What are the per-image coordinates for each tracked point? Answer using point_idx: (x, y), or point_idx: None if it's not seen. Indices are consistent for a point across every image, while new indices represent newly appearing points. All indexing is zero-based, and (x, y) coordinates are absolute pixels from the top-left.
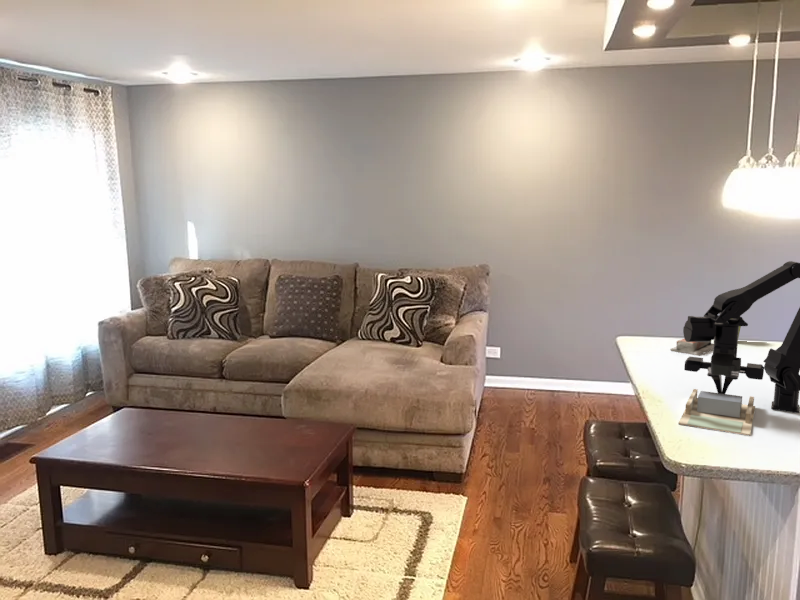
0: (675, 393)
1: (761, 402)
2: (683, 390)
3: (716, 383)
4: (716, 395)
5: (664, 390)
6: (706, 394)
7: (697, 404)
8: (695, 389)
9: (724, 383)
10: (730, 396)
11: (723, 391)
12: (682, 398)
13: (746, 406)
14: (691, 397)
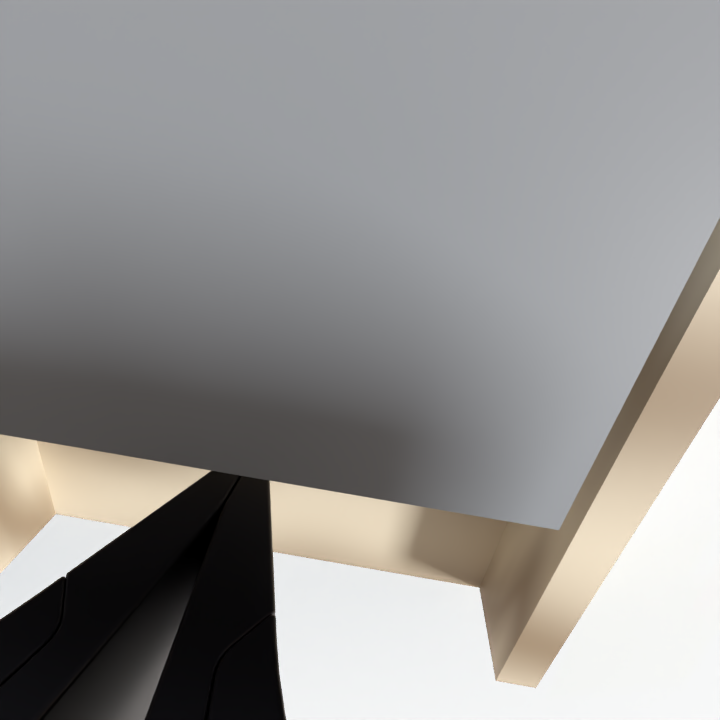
0: (628, 663)
1: (21, 601)
2: (540, 715)
3: (244, 715)
4: (278, 315)
5: (699, 702)
6: (496, 324)
7: None
8: (520, 676)
9: (25, 711)
10: (11, 333)
11: (166, 535)
12: None
13: (64, 478)
14: (689, 390)
